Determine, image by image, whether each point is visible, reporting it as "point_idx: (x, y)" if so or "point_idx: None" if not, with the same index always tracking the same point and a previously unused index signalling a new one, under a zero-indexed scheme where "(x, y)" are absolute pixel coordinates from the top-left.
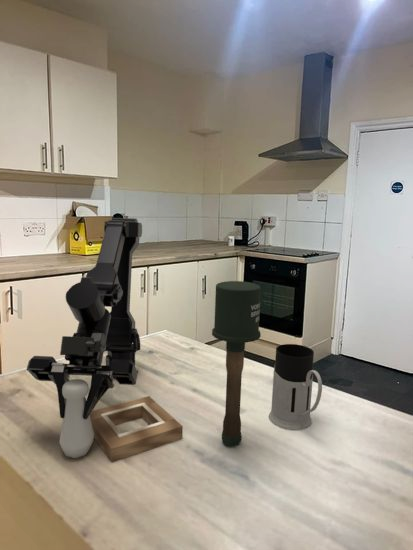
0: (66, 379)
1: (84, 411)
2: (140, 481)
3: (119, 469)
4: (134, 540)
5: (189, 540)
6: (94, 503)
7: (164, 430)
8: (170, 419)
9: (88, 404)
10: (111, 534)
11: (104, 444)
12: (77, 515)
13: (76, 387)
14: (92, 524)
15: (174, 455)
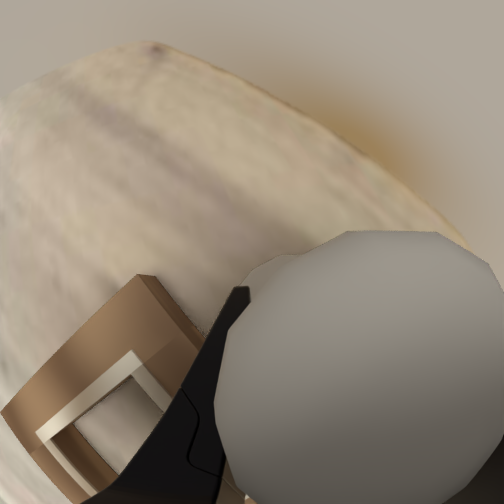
0: (499, 486)
1: (244, 307)
2: (67, 207)
3: (123, 245)
4: (75, 66)
5: (9, 98)
6: (156, 111)
7: (25, 393)
8: (35, 451)
9: (220, 346)
10: (110, 62)
11: (187, 330)
12: (184, 76)
13: (347, 290)
14: (147, 67)
15: (17, 327)
